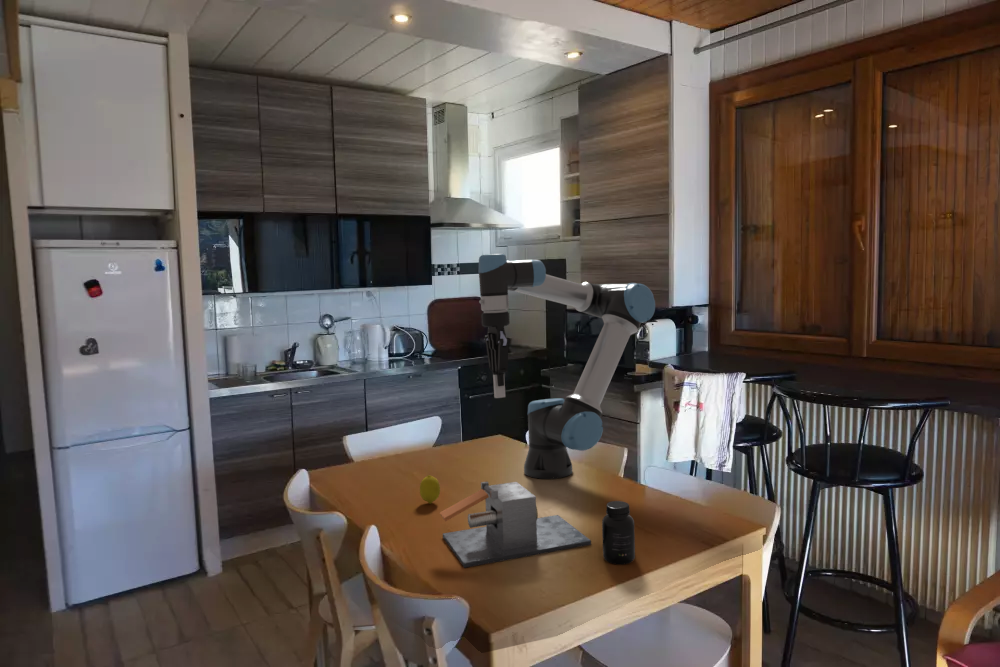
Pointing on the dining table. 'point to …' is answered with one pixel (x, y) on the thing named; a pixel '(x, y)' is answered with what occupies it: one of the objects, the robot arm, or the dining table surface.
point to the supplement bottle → (618, 534)
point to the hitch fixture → (513, 530)
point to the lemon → (429, 489)
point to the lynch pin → (485, 518)
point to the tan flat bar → (465, 503)
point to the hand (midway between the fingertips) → (499, 397)
